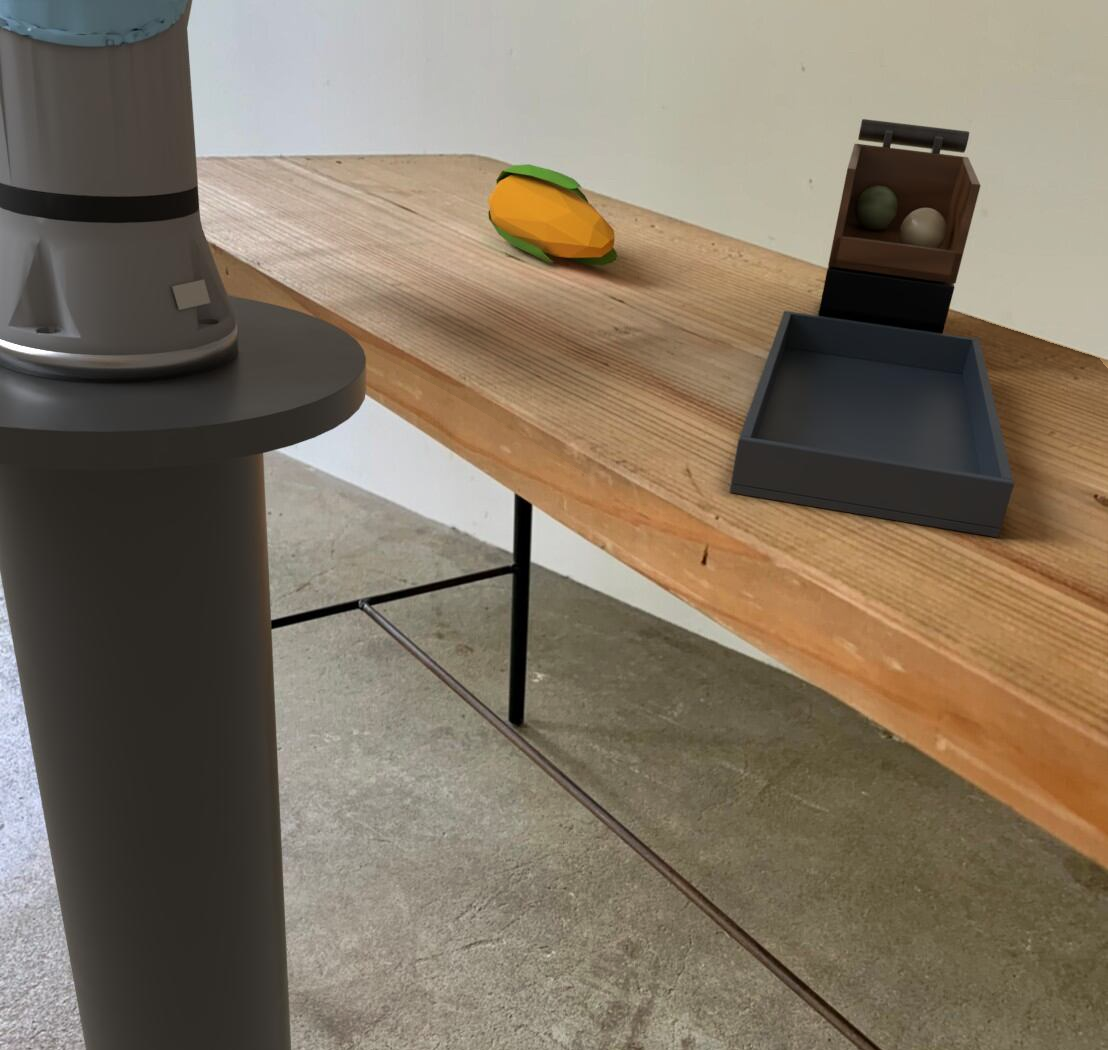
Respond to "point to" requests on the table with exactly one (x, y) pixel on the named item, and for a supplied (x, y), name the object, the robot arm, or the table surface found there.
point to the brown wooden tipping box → (907, 200)
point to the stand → (886, 299)
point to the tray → (876, 426)
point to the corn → (549, 216)
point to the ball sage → (876, 208)
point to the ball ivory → (923, 228)
